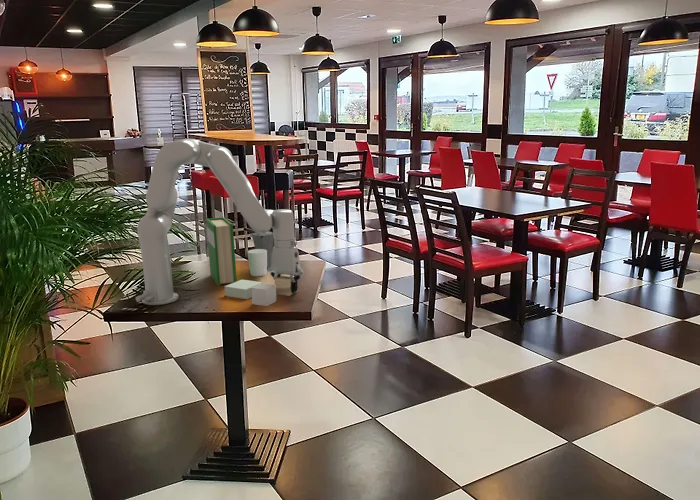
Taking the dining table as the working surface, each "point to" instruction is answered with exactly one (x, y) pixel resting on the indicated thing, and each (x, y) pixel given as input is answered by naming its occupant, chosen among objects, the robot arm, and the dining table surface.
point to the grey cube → (264, 294)
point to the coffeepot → (264, 244)
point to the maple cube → (284, 285)
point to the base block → (241, 289)
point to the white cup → (257, 262)
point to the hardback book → (221, 250)
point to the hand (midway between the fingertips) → (286, 290)
